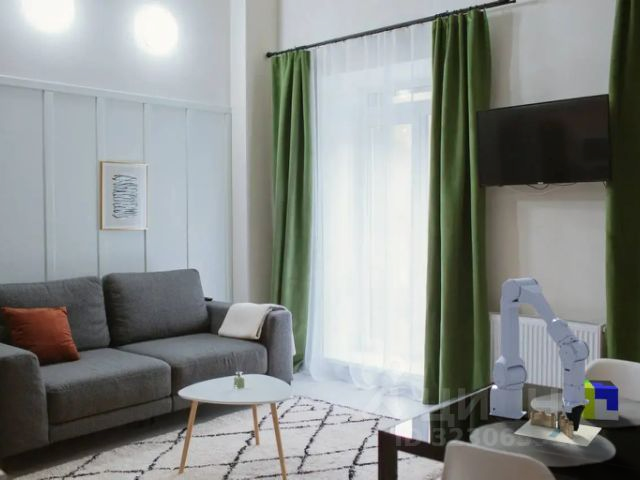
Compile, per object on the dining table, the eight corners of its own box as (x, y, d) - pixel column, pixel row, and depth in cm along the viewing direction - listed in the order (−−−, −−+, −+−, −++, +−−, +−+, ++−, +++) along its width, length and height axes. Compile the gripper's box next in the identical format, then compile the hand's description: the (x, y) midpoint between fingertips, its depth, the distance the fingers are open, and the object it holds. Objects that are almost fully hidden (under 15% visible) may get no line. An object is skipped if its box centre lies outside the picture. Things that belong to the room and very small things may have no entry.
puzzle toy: (618, 421, 197) (618, 388, 197) (583, 420, 199) (583, 387, 199) (610, 411, 207) (610, 380, 207) (577, 410, 209) (577, 379, 209)
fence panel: (559, 429, 189) (559, 414, 189) (563, 429, 189) (563, 414, 189) (569, 437, 182) (569, 422, 182) (573, 437, 182) (573, 422, 182)
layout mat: (513, 435, 187) (513, 433, 187) (532, 418, 202) (532, 417, 202) (587, 447, 175) (587, 446, 175) (601, 429, 190) (601, 427, 190)
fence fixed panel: (530, 424, 194) (530, 407, 194) (531, 423, 196) (531, 406, 195) (561, 429, 189) (561, 412, 189) (563, 428, 190) (562, 410, 190)
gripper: (582, 392, 176) (582, 441, 177) (594, 379, 188) (593, 425, 189) (555, 388, 180) (555, 436, 181) (569, 375, 192) (568, 421, 193)
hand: (573, 430), depth 185 cm, fingers closed, pressing on fence panel
